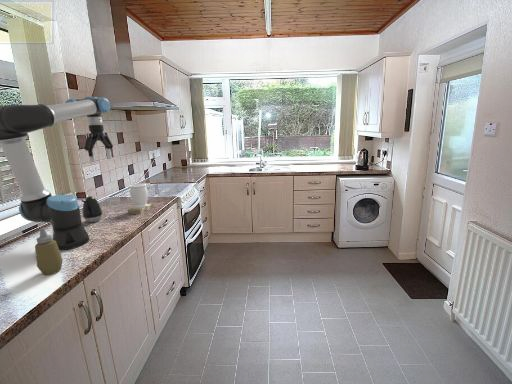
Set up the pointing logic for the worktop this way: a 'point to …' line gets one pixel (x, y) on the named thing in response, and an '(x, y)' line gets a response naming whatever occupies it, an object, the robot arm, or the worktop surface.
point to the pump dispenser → (91, 209)
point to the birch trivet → (140, 209)
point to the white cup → (139, 194)
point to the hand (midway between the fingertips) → (101, 160)
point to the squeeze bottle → (47, 254)
